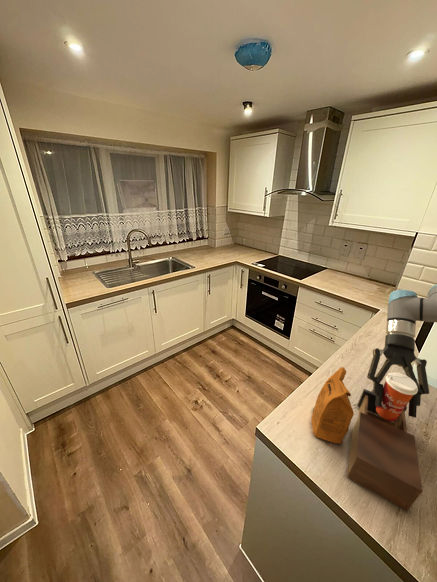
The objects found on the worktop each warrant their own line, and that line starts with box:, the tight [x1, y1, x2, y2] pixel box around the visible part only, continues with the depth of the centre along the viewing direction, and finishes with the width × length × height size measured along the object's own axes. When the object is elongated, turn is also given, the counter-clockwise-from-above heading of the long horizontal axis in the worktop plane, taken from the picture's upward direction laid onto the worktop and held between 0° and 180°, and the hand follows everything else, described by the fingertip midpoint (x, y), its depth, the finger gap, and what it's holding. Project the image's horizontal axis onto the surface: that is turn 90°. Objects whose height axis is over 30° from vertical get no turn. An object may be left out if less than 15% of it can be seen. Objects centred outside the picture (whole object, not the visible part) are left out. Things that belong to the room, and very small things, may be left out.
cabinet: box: [346, 412, 423, 512], centre depth 65 cm, size 16×14×10 cm
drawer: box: [356, 388, 408, 433], centre depth 77 cm, size 20×12×8 cm, turn 148°
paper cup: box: [376, 371, 418, 422], centre depth 71 cm, size 8×8×14 cm
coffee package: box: [311, 366, 355, 444], centre depth 74 cm, size 10×12×22 cm
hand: (394, 411), depth 69 cm, fingers closed on paper cup, 8 cm apart
